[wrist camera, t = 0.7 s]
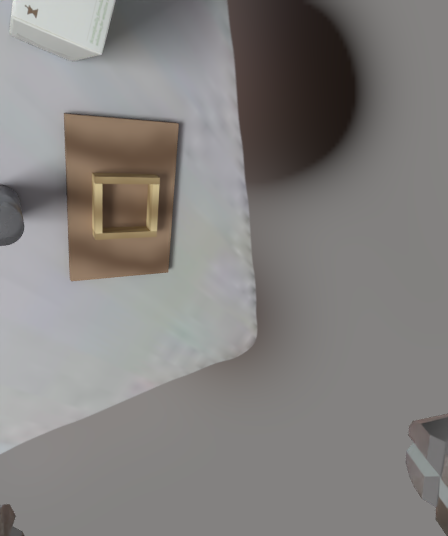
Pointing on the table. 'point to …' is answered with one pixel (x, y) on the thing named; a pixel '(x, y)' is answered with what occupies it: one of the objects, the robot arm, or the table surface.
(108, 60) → the table surface
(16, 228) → the cylinder
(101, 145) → the collar board
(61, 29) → the skincare box
